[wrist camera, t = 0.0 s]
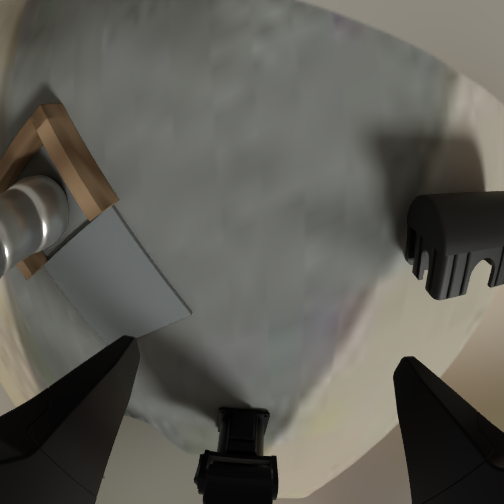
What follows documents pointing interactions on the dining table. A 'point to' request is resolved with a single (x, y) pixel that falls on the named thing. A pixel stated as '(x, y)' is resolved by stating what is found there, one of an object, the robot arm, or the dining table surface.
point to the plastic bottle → (30, 219)
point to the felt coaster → (115, 281)
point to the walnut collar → (57, 166)
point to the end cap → (455, 239)
